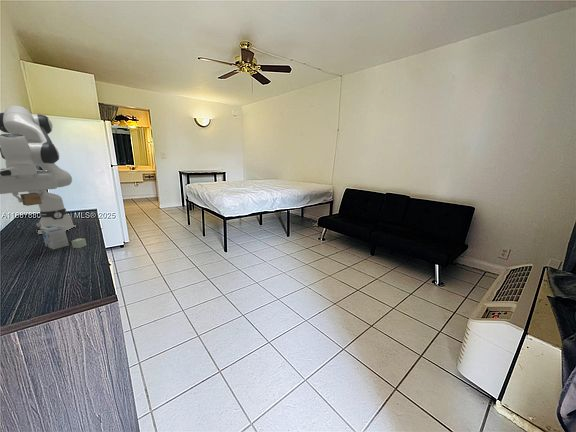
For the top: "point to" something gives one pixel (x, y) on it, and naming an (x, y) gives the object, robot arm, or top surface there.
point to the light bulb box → (54, 236)
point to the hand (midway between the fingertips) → (31, 200)
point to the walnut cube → (31, 199)
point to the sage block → (79, 243)
